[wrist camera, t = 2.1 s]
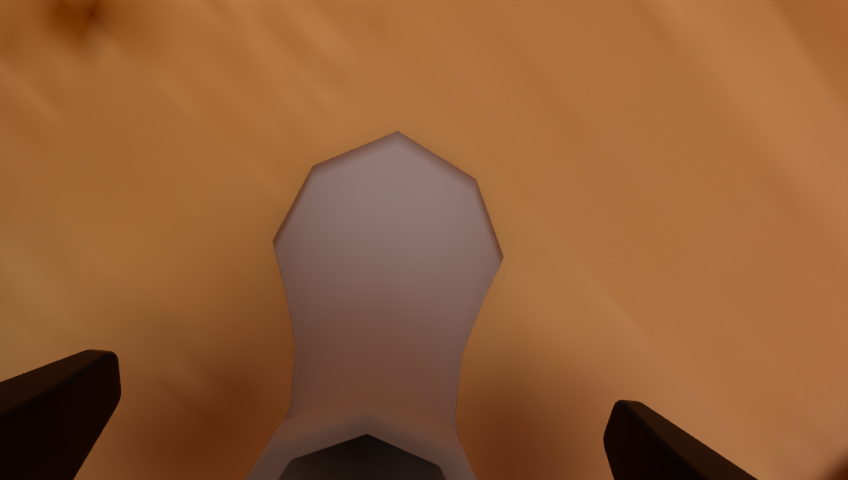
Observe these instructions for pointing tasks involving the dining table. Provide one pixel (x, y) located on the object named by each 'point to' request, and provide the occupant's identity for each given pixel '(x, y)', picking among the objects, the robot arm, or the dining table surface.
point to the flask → (380, 315)
